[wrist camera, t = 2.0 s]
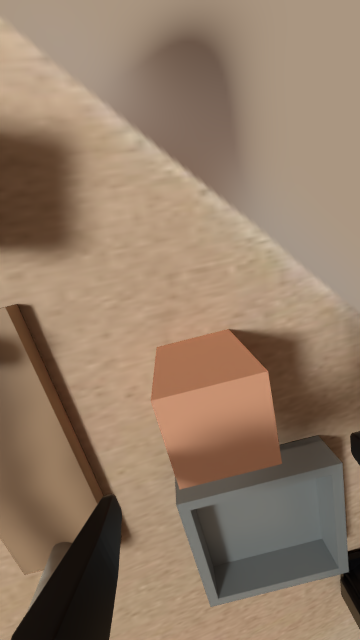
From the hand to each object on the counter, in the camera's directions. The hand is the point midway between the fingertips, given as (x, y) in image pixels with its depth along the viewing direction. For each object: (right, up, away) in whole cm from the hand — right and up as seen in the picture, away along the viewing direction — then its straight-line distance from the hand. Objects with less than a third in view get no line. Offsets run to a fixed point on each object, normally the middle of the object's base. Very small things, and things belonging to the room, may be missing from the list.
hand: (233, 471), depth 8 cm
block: (-1, +2, +7) cm, 8 cm away
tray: (+5, -11, +11) cm, 16 cm away
